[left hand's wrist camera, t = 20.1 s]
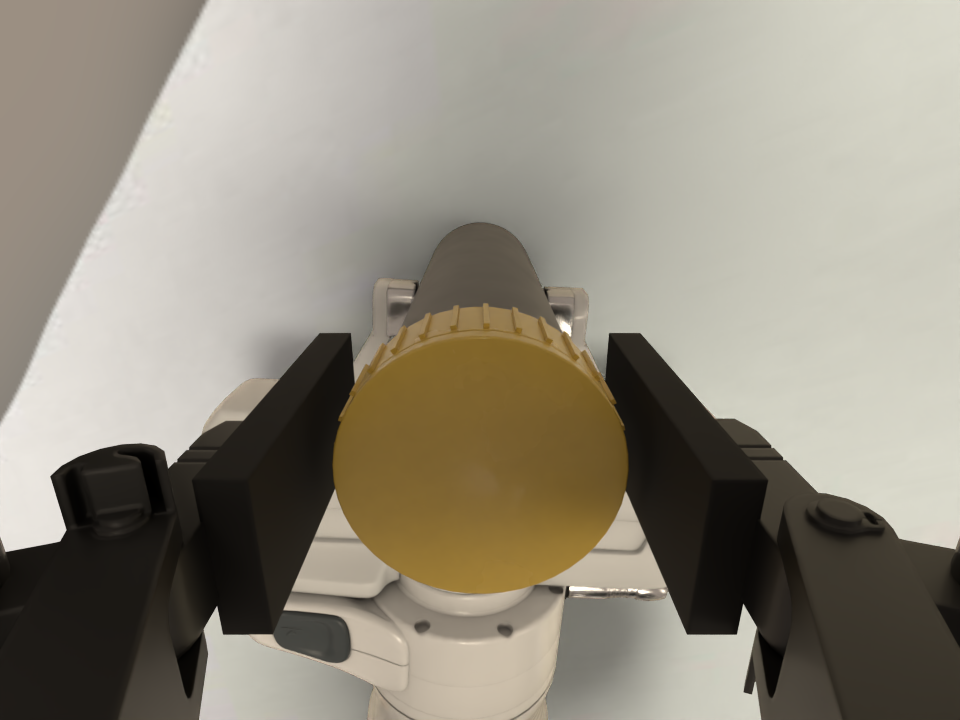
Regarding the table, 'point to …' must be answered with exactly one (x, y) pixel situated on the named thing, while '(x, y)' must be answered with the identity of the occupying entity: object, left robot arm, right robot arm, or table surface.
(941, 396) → the table surface
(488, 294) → the jar
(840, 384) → the table surface
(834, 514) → the left robot arm
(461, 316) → the lid
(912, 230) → the table surface
